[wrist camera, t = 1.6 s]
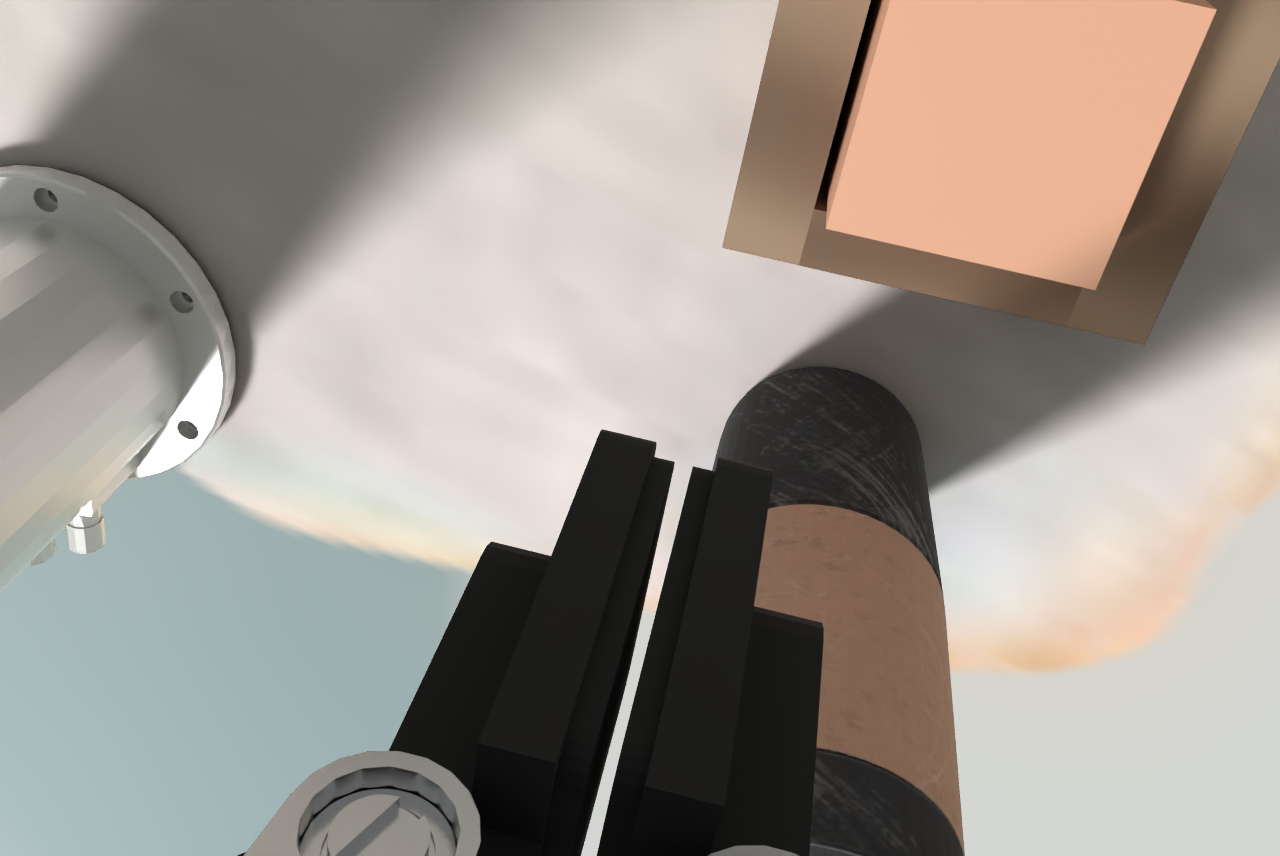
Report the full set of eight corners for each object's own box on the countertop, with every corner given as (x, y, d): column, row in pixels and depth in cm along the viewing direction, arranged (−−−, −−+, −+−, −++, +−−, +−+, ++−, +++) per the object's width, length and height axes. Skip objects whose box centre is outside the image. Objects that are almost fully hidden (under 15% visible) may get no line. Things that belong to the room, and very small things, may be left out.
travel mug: (673, 414, 42) (547, 889, 25) (865, 322, 39) (870, 792, 22) (779, 566, 44) (730, 1085, 28) (966, 491, 41) (1040, 1024, 24)
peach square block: (1065, 218, 34) (1095, 290, 29) (830, 164, 34) (825, 228, 30) (1166, -32, 30) (1217, 9, 26) (900, -90, 30) (906, -58, 26)
